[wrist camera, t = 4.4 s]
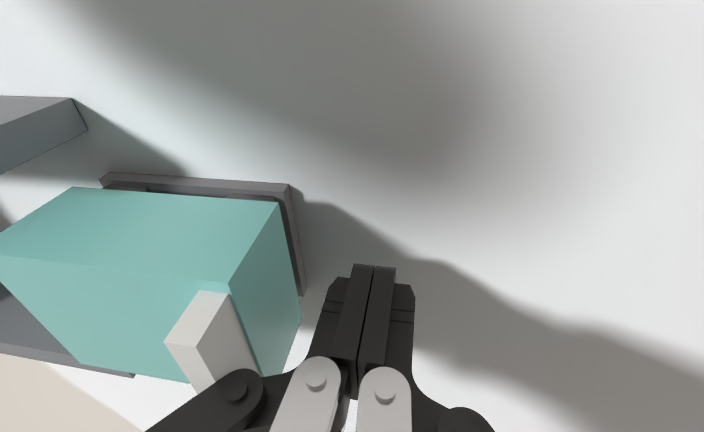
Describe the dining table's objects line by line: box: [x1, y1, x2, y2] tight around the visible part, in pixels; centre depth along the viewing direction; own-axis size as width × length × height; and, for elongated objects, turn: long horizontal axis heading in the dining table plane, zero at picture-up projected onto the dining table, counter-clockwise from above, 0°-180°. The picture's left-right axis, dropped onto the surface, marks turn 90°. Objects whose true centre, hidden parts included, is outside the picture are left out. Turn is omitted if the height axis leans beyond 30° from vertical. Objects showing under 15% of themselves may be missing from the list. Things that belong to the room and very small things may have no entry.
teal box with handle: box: [0, 172, 307, 394], centre depth 12 cm, size 8×6×6 cm
